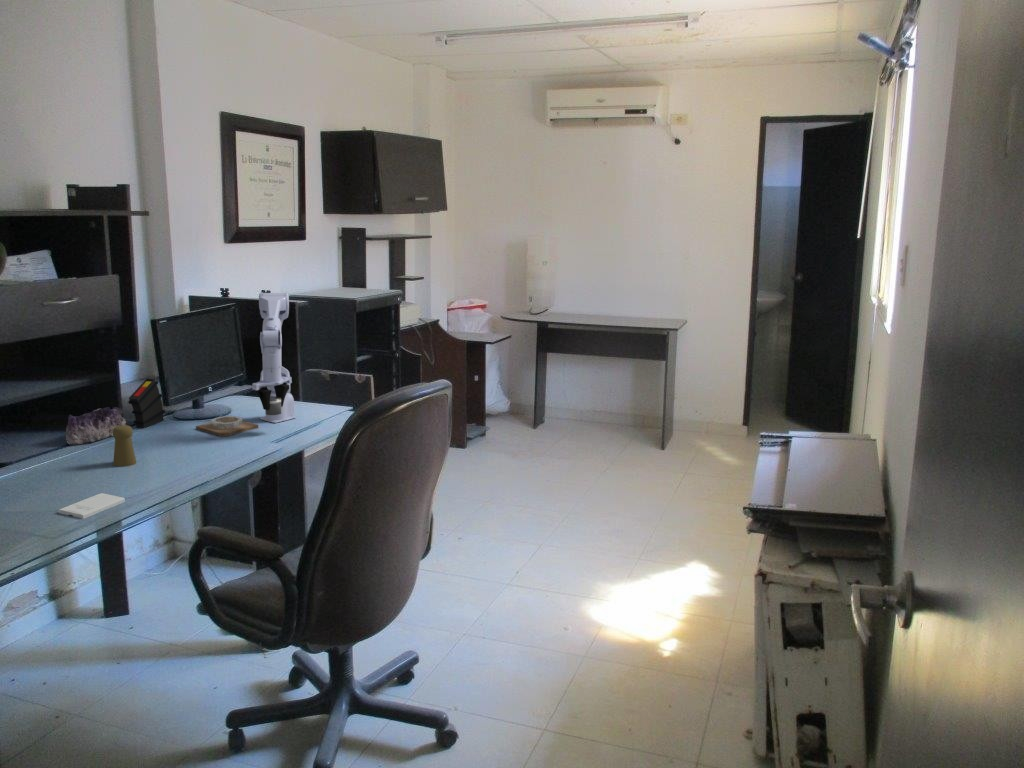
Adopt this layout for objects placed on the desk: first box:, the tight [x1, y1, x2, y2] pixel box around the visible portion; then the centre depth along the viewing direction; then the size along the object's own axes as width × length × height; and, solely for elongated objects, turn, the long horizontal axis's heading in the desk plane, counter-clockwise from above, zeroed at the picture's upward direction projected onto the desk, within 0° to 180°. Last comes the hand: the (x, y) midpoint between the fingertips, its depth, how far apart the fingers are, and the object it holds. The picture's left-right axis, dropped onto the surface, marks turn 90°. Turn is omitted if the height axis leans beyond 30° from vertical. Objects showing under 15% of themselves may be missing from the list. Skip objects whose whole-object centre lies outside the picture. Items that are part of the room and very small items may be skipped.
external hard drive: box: [57, 492, 126, 520], centre depth 202 cm, size 2×8×12 cm
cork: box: [112, 424, 137, 468], centre depth 234 cm, size 6×6×11 cm
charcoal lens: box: [264, 397, 281, 415], centre depth 268 cm, size 5×5×5 cm
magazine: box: [127, 378, 166, 429], centre depth 273 cm, size 4×13×15 cm, turn 168°
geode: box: [65, 406, 127, 447], centre depth 258 cm, size 20×12×10 cm, turn 167°
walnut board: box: [195, 420, 259, 438], centre depth 273 cm, size 14×14×1 cm
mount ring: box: [211, 415, 243, 430], centre depth 273 cm, size 9×9×2 cm
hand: (273, 407), depth 268 cm, fingers closed on charcoal lens, 5 cm apart
